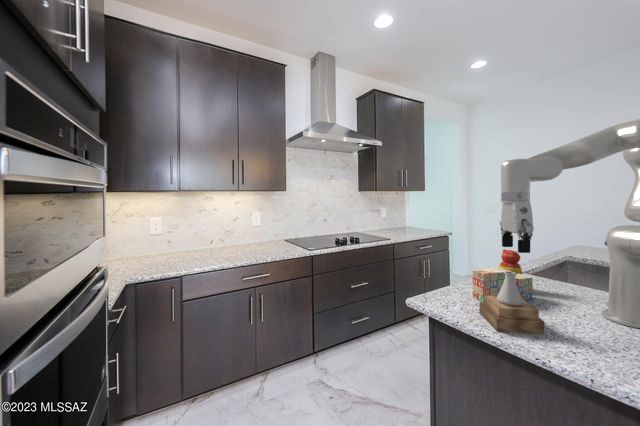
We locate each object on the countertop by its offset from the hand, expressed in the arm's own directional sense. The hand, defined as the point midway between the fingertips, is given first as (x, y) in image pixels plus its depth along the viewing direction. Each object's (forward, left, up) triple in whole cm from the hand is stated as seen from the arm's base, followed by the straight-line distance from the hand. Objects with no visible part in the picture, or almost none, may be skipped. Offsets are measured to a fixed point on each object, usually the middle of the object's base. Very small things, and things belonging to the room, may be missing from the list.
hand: (515, 249), depth 86 cm
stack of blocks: (-6, -21, -25) cm, 33 cm away
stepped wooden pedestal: (+2, +1, -25) cm, 25 cm away
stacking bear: (-15, -34, -25) cm, 45 cm away
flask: (+2, +1, -18) cm, 18 cm away
